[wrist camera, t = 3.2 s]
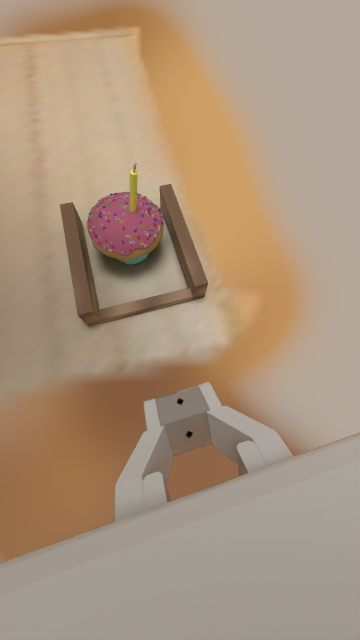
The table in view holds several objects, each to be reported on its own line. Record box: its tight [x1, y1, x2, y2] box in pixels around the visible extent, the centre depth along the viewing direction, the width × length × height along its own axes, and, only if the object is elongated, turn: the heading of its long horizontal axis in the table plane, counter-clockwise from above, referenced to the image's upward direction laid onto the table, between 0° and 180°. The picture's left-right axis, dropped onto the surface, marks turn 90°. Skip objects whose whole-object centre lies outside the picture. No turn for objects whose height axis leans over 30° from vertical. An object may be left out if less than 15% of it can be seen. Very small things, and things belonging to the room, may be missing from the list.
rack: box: [60, 184, 208, 326], centre depth 30 cm, size 14×15×4 cm
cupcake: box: [87, 163, 164, 264], centre depth 26 cm, size 9×8×12 cm
